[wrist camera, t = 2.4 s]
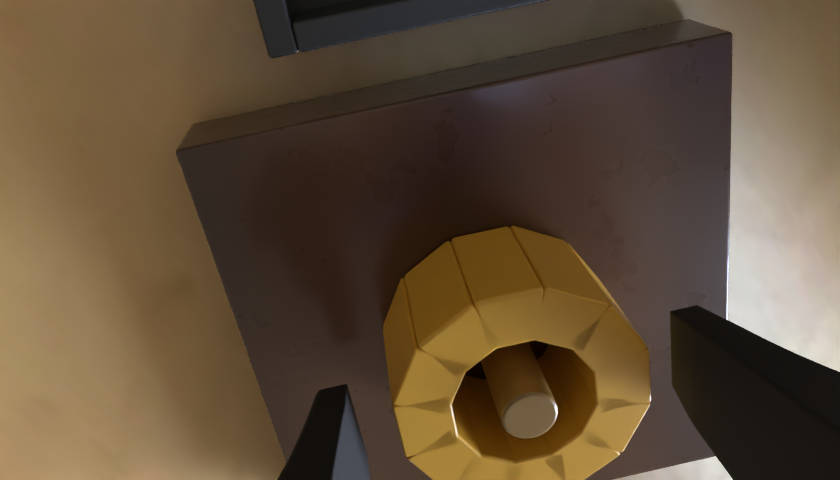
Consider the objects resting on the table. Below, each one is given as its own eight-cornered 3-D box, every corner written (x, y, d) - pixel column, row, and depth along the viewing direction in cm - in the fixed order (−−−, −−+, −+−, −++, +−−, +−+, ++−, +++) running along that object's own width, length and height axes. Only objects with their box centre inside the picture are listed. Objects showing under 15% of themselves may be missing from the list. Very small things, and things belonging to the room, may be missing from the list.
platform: (689, 18, 17) (839, 63, 12) (694, 409, 22) (798, 552, 17) (191, 123, 16) (131, 215, 11) (317, 494, 22) (313, 665, 17)
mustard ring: (593, 205, 16) (645, 264, 13) (607, 389, 18) (655, 471, 16) (364, 255, 16) (371, 325, 13) (408, 434, 18) (422, 524, 16)
